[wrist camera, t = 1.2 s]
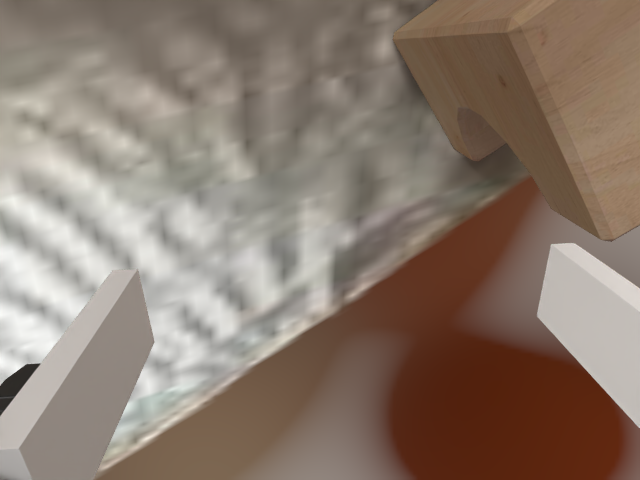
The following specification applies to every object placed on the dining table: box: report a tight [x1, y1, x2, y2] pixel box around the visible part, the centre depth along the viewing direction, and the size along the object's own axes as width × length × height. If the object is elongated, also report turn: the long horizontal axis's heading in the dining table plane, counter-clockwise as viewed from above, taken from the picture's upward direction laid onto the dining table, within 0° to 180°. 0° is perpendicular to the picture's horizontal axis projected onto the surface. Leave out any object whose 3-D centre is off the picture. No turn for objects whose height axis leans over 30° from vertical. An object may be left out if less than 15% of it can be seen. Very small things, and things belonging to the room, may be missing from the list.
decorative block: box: [393, 0, 640, 242], centre depth 26 cm, size 11×6×20 cm, turn 33°
